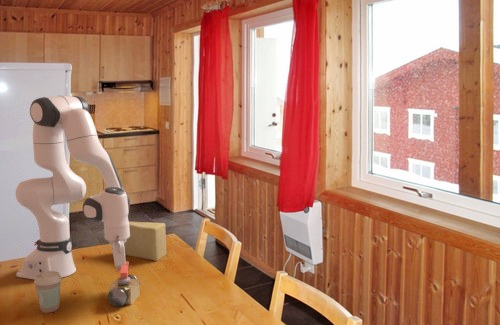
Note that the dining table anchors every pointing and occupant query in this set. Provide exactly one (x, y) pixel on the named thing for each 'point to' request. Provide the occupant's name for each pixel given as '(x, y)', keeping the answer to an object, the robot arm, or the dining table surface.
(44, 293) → the coffee cup
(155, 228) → the cheese
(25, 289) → the dining table surface
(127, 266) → the lever
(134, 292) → the valve
